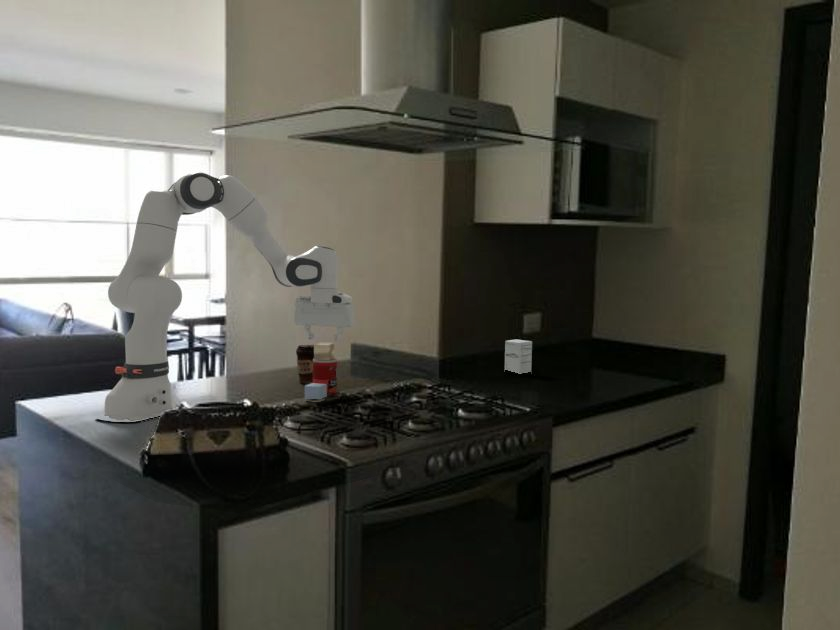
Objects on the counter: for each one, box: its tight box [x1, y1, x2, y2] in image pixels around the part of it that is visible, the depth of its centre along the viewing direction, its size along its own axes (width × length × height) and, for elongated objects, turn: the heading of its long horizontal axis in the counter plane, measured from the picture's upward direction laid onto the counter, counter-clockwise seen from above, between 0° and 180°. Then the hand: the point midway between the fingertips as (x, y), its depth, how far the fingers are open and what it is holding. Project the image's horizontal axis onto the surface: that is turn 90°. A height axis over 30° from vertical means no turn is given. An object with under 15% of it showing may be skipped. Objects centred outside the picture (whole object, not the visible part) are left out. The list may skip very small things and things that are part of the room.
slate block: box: [304, 383, 328, 400], centre depth 231 cm, size 5×5×5 cm
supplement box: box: [504, 338, 533, 374], centre depth 280 cm, size 7×7×13 cm
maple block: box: [313, 342, 336, 360], centre depth 243 cm, size 5×5×5 cm
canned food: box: [313, 357, 338, 395], centre depth 244 cm, size 8×8×11 cm
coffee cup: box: [295, 344, 314, 384], centre depth 261 cm, size 9×8×13 cm
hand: (324, 339), depth 243 cm, fingers open, 8 cm apart
